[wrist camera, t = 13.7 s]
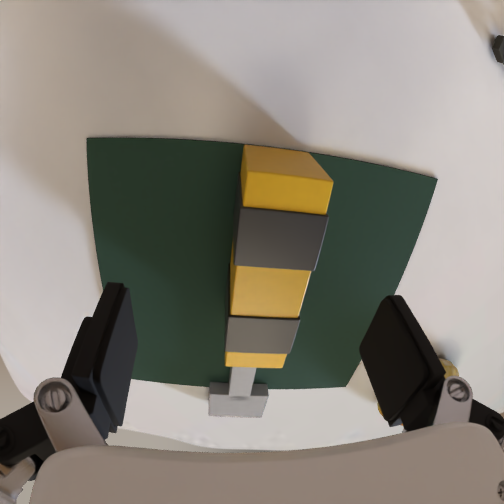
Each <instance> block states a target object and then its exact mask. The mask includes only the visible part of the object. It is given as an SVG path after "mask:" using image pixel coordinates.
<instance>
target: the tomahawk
mask: <svg viewBox="0 0 504 504" xmlns="http://www.w3.org/2000/svg"><path fill="white" fill-rule="evenodd" d="M492 49H493V52H494V55H495V57H496V60H497V62H500V63H503V64H504V36H501V35H498V36H497V37H496V39H495V42H494V44H493V47H492Z"/></svg>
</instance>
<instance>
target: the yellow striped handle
mask: <svg viewBox="0 0 504 504" xmlns="http://www.w3.org/2000/svg"><path fill="white" fill-rule="evenodd" d="M332 187H333V180H332V179H331V178H330V177H329V175H328V174H327V173H326V172H325V171H324V170H323V168H322V167H321V166H320V165H319V164H318V163H317V161H316V160H315V159H314V158H313V157H312V156H311V155H310V154H309V153H308V152H301V151H294V150H287V149H279V148H271V147H263V146H254V145H244V147H243V155H242V164H241V172H238V179H237V188H236V197H235V206H234V215H233V243H232V253H231V262H230V263H229V264H228V273H227V283H226V294H225V333H224V351H225V366H228V367H230V374H229V382H228V383H223V382H210V389H209V416H220V417H256V418H261V417H262V415H263V412H264V409H265V406H266V402H267V399H268V396H269V395H268V385H267V384H253V381H254V376H255V372H256V368H283V365H284V362H285V358H286V355H287V354H290V352H291V348H292V345H293V342H294V339H295V336H296V333H297V329H298V326H299V323H300V316H299V313H300V309H301V306H302V302H303V299H304V295H305V292H306V288H307V285H308V281H309V278H310V274H311V271H315V269H316V265H317V261H318V258H319V254H320V250H321V247H322V243H323V239H324V235H325V231H326V227H327V224H328V220H329V216H328V214H327V208H328V204H329V200H330V195H331V191H332Z"/></svg>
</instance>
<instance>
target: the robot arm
mask: <svg viewBox="0 0 504 504" xmlns="http://www.w3.org/2000/svg"><path fill="white" fill-rule="evenodd" d="M137 348H138V339H137V333H136V327H135V322H134V316H133V309H132V303H131V296H130V290H129V288H126V287H125V286H124V283H117V282H107V284H106V286H105V288H104V291H103V293H102V295H101V298H100V300H99V302H98V305H97V307H96V309H95V312H94V314H93V317H85V318H84V320H83V321H82V324H81V326H80V329H79V331H78V334H77V336H76V339H75V341H74V344H73V346H72V349H71V351H70V354H69V357H68V359H67V362H66V365H65V368H64V370H63V373H62V376H61V378H49V379H46V380H45V381H43V382H41V383H40V384H39V386H38V387H37V388H36V390H35V393H34V402H32V403H30V404H28V405H26V406H25V407H23V408H21V409H19V410H17V411H15V412H13V413H11V414H9V415H8V416H6V417H4V418H2V419H0V504H16V499H17V497H18V495H19V494H20V493H21V492H22V490H23V489H22V486H23V485H24V484H25V483H26V482H27V481H32V480H35V483H34V485H33V489H32V493H31V497H30V502H29V504H504V419H503V417H502V416H501V415H500V414H499V413H497V412H496V411H494V410H492V409H490V408H488V407H487V406H485V405H483V404H481V403H479V402H478V401H476V400H474V399H472V398H473V392H472V389H471V387H470V385H469V384H468V382H467V381H466V380H464V379H463V378H461V377H459V376H449V377H447V378H446V379H445V377H444V375H445V374H446V371H445V369H444V367H443V365H442V363H441V362H440V360H439V358H438V356H437V354H436V353H435V351H434V349H433V347H432V346H431V344H430V342H429V340H428V339H427V337H426V335H425V333H424V332H423V330H422V328H421V327H420V325H419V323H418V322H417V320H416V318H415V317H414V315H413V313H412V312H411V310H410V308H409V307H408V305H407V304H406V302H405V300H404V299H403V297H402V296H400V295H388V296H386V297H385V299H383V300H382V301H381V302H380V305H379V307H378V309H377V311H376V313H375V315H374V317H373V320H372V322H371V324H370V326H369V328H368V330H367V332H366V334H365V336H364V338H363V340H362V342H361V344H360V346H359V353H360V356H361V358H362V361H363V363H364V366H365V369H366V371H367V374H368V376H369V379H370V382H371V384H372V387H373V390H374V392H375V395H376V398H377V401H378V403H379V406H380V409H381V412H382V415H383V417H384V419H385V420H386V421H388V424H389V426H390V427H393V426H397V425H401V424H403V426H404V429H403V431H402V433H400V434H396V435H392V436H387V437H382V438H377V439H372V440H367V441H361V442H356V443H349V444H343V445H336V446H329V447H321V448H312V449H302V450H291V451H276V452H256V453H255V452H254V453H208V452H187V451H169V450H158V449H147V448H137V447H125V446H109V445H108V444H107V443H106V441H105V439H106V438H108V433H109V432H112V433H116V431H117V426H122V424H123V419H124V414H125V408H126V402H127V397H128V392H129V386H130V381H131V376H132V371H133V367H134V362H135V357H136V353H137Z"/></svg>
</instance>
